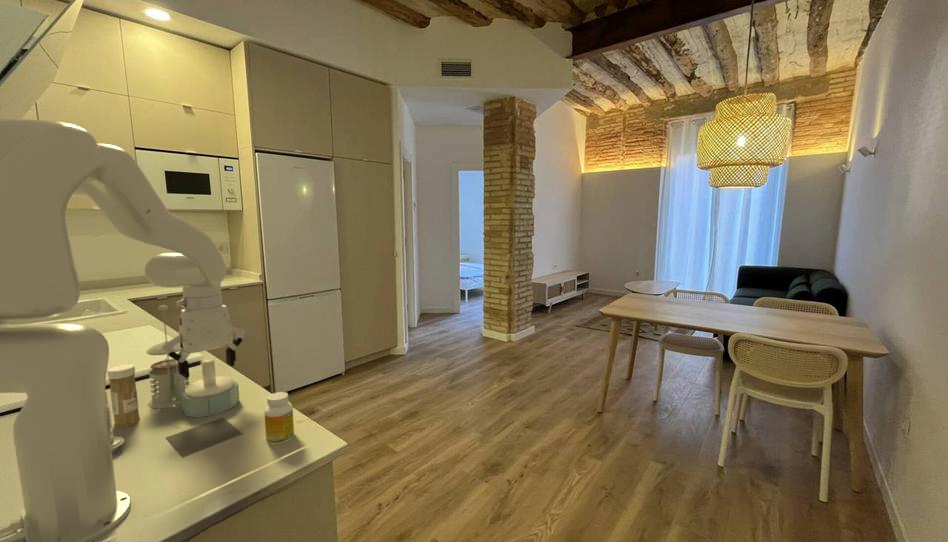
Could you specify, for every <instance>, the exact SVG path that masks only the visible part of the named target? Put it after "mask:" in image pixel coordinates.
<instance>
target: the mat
mask: <svg viewBox="0 0 948 542" xmlns="http://www.w3.org/2000/svg"><path fill="white" fill-rule="evenodd" d="M243 434H244V433H243V432H242V431H240V430H239V429H238V428H237V427H235V426H234V425H233V424H231V422H229V421H228V420H227V419H226V418H225V417H220V418H217V419H215V420H211V421H209V422H206V423H204V424H200V425H199V426H194V427H192V428H189V429H186V430H184V431H180V432H178V433H175V434H172V435H169V436H166V437H165V439H166V441H167V442H168V443H169V444H170V445H171V447H172V448H173V449H174V450H175V451H176V452H177V454H178V455H179V456H180V457H181V458H184V457H187V456H190V455H193V454H195V453H197V452H200V451H203V450H205V449H208V448H211V447H213V446H216V445H218V444H221V443H223V442H226V441H228V440H230V439H234V438H236V437H238V436H241V435H243Z"/></svg>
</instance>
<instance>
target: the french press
mask: <svg viewBox="0 0 948 542" xmlns="http://www.w3.org/2000/svg"><path fill="white" fill-rule="evenodd" d="M168 309H169V307H168V305H166V304H163V305H159V306H158V311H162V315H163V326H164V336H165V337H164V338H165V341H163V342H160V343H157V344H155V345H153V346H152V347H150V348H148V349H147V350H146V351H145V352H146V354H147V355H149V356H165V355H166V357H167V358H165V359H164V360H160V361H157V362H154V363H153V364H151V365H150V369H151V370H150V371H149V372H148V373H149V379H152V380H149V383H150V385H149V386H150V392H151V396H150V397H151V399H150V400H149V401H148V402H149V403H148V402H147V407H149V408H150V407H152V408H151V409H165V408H166V407H167V408H170V407H169V406H172V407H174V406H173V405H176V406H178V405H177V404H179V405H181V404H180V403H182V401H181V393H182V392H183V391H185V388H186V387H187V386H188V385H189V384H190V377H189V378H185V377H183V376H182V375H180V374H179V368H178V361H177V360H175V359H173V358H170V359H169V357H170V356H168V354H167V353H166V352H165V351H164V350H163V349H162V346H163V345H164V344H166V343H167V342H169V341H168V338H167V327H166V319H165V317H166V316H165V311H166V310H168ZM172 350H173V351H174V352H175V353H179V352H180V350H181V347H180V343H178V344H177V345H175V346H174V347H173V348H172ZM151 384H152V385H151ZM151 389H152V390H151ZM164 407H165V408H164Z"/></svg>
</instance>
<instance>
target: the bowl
mask: <svg viewBox="0 0 948 542" xmlns="http://www.w3.org/2000/svg"><path fill="white" fill-rule="evenodd" d="M239 386H240V385H239V382H237V381H236V380H234V386H233V387H232V388H231V389H229V390H227V391H225V392H223V393H220V394H217V395H213V396H208V397H198V398H195V397H188V396H186V395H185V391H183V392H182V393H181V401H182V404H181V407H182V408H181V410H182V411H183V412H184V414H185V415H186V416H187V417H190V418H205V417H210V416H216V415H219V414H221V413H224V412H227V411H229V410H231V409H232V408H234V407H235V406H236V405H237V404H238V401H239V400H240V388H239Z"/></svg>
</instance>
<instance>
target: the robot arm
mask: <svg viewBox="0 0 948 542" xmlns="http://www.w3.org/2000/svg"><path fill="white" fill-rule="evenodd" d="M73 195H83V196H88V197H89V198H90V199H91V200H92V201H93V203H95V205H97V207H98V208H99V209H100V210H101V211H102V213H103V214H104V215H105V217H106V218H107V219H108V220H109V221H110V223H111V224H112V225H113V226H114V227H115V229H116V230H117V231H118V232H119V233H120V234H121V235H123V236H125V237H126V238H130V239H132V240H135V241H138V242H141V243H144V244H148V245H152V246H155V247H160V248H163V249H167V250H169V251H173V252H165V253H163V252H162V253H159V254H157V255H154V256H153V257H151V258H150V259H148V261H147V262H146V264H145V267H144V275H145V278H146V279H147V280H148V282H150V283H151V284H153V285H155V286H156V287H161V288H182V294H183V296H182V298H181V299H180V300H177V301H176V302H175V305H176V307H182V309H181V311H180V316H179V334H178V335H177V336H175V337H174V338H172V339H170V340H169V341H168V342H167V343H166V344H164V345H163V346H162V349H163V350H164V351H165V352H166V353H167V354H168V357H170V359H175V360H177V361H178V368H179V374H180V375H182V376H183V377H184V378H189V379H190V366H189V365H190V364H189V361H188V360H187V359H188V357H189V356H190V355H191V354H195V353H200V352H205V351H210V350H215V349H218V348H219V349H220V348H223V347H227V348H225V359H226V364H227V365H229V366H230V367H234V366H235V362H236V361H237V357H236V350H238V348H239V345H240V344H241V343H242V342H243V339H244V336H245V334H247V333H246V330H245V329H242V328H238V327H234V326H232V323H231V322H232V321H231V318H230V314H229V310H228V307H227V305H225V304H223V298H222V297H223V296H222V286H221V284H222V282H223V281H224V279H225V277H226V273H227V269H226V268H227V267H226V263H225V260H224V258H223V255H222V254H221V251H220V249H219V248H218V247H217V245H216V243H215V242H214V240H213V239H212V238H211V237H210V236H209V235H208V234H207V233H205V232H204V231H203V230H201V229H200V228H198V227H196V226H195V225H193V224H192V223H191V222H188V221H187V220H185V219H183V218H182V217H180V216H178V215H177V214H174V213H172V212H170V211H169V210H168V209H167V207H166V205H165V204H164V203H163V201H162V199H161V198H160V197H159V194H158V193H157V192H156V190H155V189H154V187H153V186H152V184H151V183H150V180H149V179H148V178H147V176H146V175H145V173H144V172H143V170H142V169H141V167H140V166H139V164H138V163H137V161H136V159H134V157H133V156H132V155H131V154H130V153H129V152H128V151H126V150H125V149H123V148H121V147H118V146H116V145H112V144H107V143H98V142H97V140H96V139H95V137H94V136H93V135H92V134H91V133H90V132H89V131H87V130H86V129H85V128H82V127H81V126H77V125H76V124H72V123H68V122H63V121H56V120H55V121H54V120H44V119H42V120H41V119H28V118H27V119H24V118H10V119H9V118H0V394H12V393H13V394H19V393H20V394H26V397H27V398H26V401H25V403H24V405H23V406H22V408H21V409H20V411H19V412H18V413H17V416H16V417H15V420H14V421H13V422H14V423H13V427H12V428H13V429H12V436H13V437H12V438H13V443H14V448H15V454H16V461H17V466H18V467H17V468H18V473H19V480H20V488H21V492H22V500H23V506H24V507H23V508H21V509H20V511H21V516H18V517H16V518H14V519H11V522H10V523H8V524H7V523H6V524H5V525H3V526H0V542H92V541H93V542H94V541H96V540H97V539H99V538H101V537H102V536H104V535H106V534H107V533H109V532H110V531H112V530H113V529H114V528H116V527H117V526H118V525H119V524H120V523H121V522H122V521H123V520H124V519H125V518H126V517H127V515H128V514H129V512H130V511H131V508H132V499H131V497H130V495H129V494H127V493H125V492H123V491H120V490H117V486H116V479H115V478H116V477H115V469H114V461H113V459H114V458H113V453H112V451H111V442H110V434H109V426H108V417H107V408H106V397H105V392H106V380H107V379H106V378H107V373H108V372H107V371H108V365H109V364H108V363H109V359H110V346H109V342H108V340H107V338H106V337H105V335H104V334H103V333H101V331H99V330H97V329H95V328H93V327H90V326H88V325H82V324H76V323H61V322H60V323H27V324H10V323H9V321H10V320H14V321H15V320H16V321H17V320H34V319H47V318H53V317H57V316H62V315H64V314H66V313H68V312H70V311H71V310H72V309H73V308H75V306H76V305H77V304H78V302H79V300H80V296H81V295H80V294H81V291H80V289H81V287H80V282H79V277H78V272H77V269H76V263H75V259H74V255H73V250H72V247H71V242H70V237H69V233H68V228H67V222H66V211H67V207H68V204H69V202H70V199H71V198H72V196H73ZM234 333H235V334H236V336H235V338H234V335H233V334H234ZM178 343H180V347H181V350H180V351H178V352H174V351H173V350H172V348H173V347H174V346H175V345H177V344H178ZM167 354H166V355H167Z"/></svg>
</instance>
